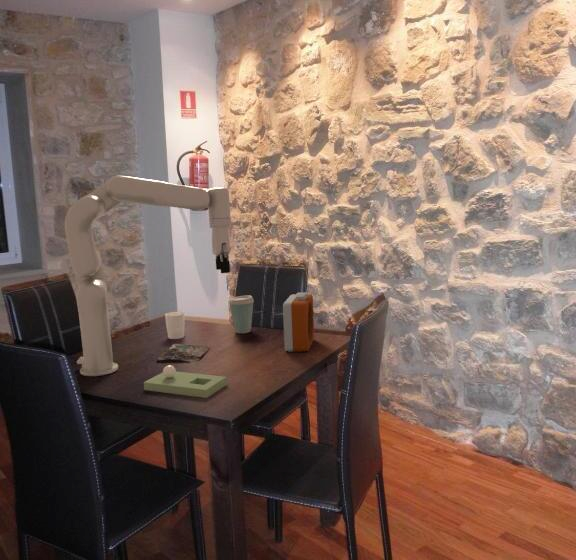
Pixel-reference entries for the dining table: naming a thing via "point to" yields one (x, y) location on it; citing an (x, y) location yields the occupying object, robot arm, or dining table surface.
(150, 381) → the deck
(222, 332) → the dining table surface
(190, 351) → the terrain model
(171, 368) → the ball
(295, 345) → the orange and grey box
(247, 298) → the disposable coffee cup
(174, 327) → the white cup
